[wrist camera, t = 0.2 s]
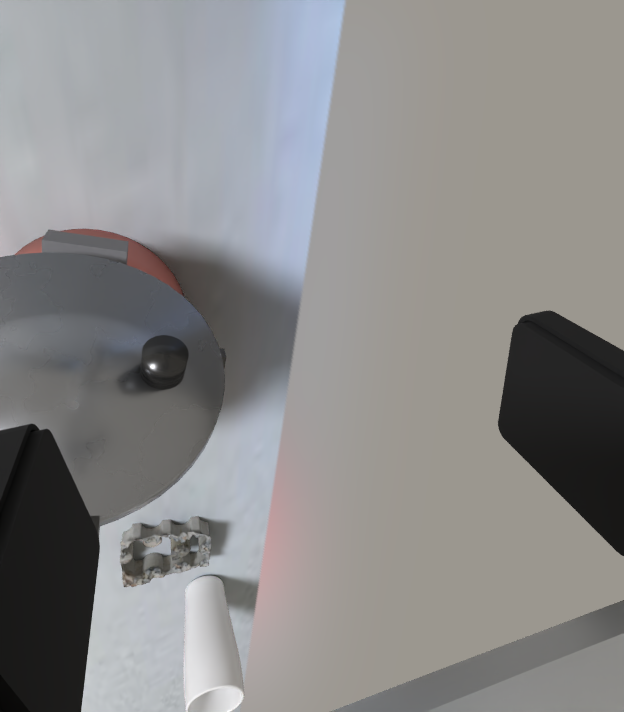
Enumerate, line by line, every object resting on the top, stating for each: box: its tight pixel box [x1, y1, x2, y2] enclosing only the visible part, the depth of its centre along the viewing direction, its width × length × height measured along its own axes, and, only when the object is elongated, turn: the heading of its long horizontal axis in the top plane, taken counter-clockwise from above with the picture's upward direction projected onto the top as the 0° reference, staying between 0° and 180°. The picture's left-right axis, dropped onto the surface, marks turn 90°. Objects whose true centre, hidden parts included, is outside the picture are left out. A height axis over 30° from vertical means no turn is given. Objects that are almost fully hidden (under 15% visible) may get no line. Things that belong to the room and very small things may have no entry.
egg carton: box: [120, 516, 211, 587], centre depth 58 cm, size 11×8×4 cm
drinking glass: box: [183, 576, 244, 712], centre depth 60 cm, size 7×7×15 cm
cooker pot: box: [15, 229, 226, 367], centre depth 39 cm, size 18×21×11 cm
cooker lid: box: [0, 252, 225, 537], centre depth 24 cm, size 20×17×3 cm
